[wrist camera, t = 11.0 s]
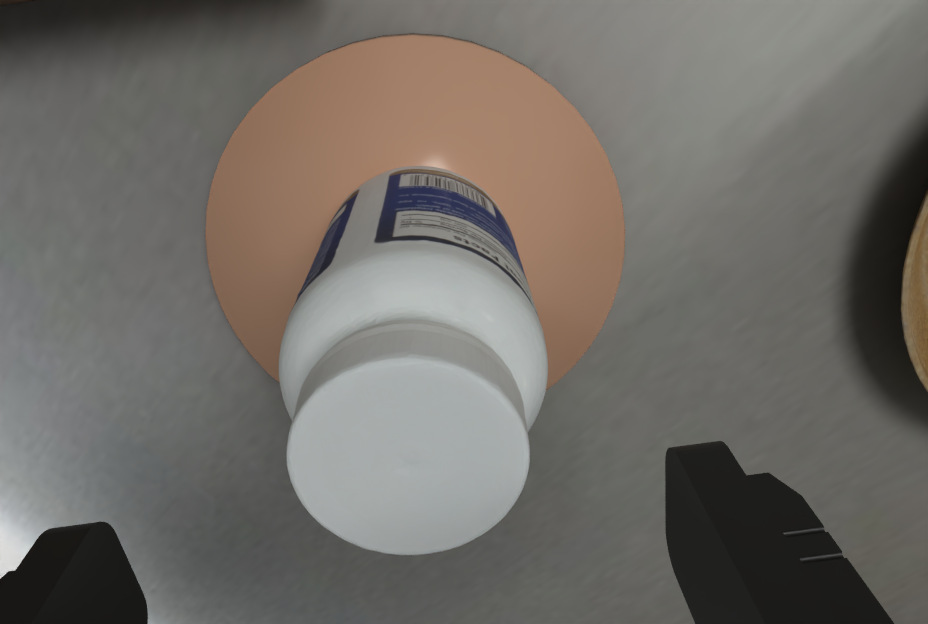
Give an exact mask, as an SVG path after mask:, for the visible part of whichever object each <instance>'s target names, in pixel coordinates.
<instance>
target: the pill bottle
mask: <svg viewBox="0 0 928 624" xmlns="http://www.w3.org/2000/svg"><path fill="white" fill-rule="evenodd" d="M547 377H548V358H547V351H546V344H545V338H544V333H543V329H542V326H541V323H540V320H539V317H538V313H537V310H536V307H535V305H534V301H533V298H532V295H531V291H530V288H529V285H528V282H527V279H526V276H525V273H524V270H523V266H522V263H521V261H520V257H519V254H518V251H517V247H516V244H515V241H514V238H513V235H512V233H511V230H510V227H509V225H508V223H507V221H506V219H505V217H504V215H503V213H502V211H501V209H500V208H499V206H498V205H497V204H496V202H495V201H494V200H493V199H492V198H491V197H490V195H489V194H488V193H487V192H486V191H484V190H483V189H482V188H481V187H480V186H478V185H477V184H476V183H474V182H472V181H471V180H469V179H467V178H466V177H464V176H461V175H459V174H457V173H454V172H452V171H449V170H446V169H441V168H437V167H429V166H405V167H399V168H395V169H392V170H389V171H386V172H384V173H382V174H380V175H377V176H375V177H373V178H372V179H370V180H368V181H366V182H365V183H363V184H362V185H361V186H360V187H358V188H357V189H356V190H355V191H353V192H352V193H351V194H350V195H349V196H348V197H347V198H346V200H345V201H344V202H343V203H342V205H341V206H340V208H339V209H338V211H337V212H336V214H335V215H334V217H333V219H332V220H331V222H330V224H329V226H328V229H327V231H326V233H325V235H324V238H323V241H322V242H321V245H320V248H319V250H318V253H317V255H316V257H315V259H314V261H313V264H312V266H311V268H310V271H309V273H308V275H307V277H306V280H305V282H304V284H303V286H302V289H301V290H300V292H299V294H298V296H297V300H296V302H295V304H294V306H293V308H292V310H291V312H290V314H289V317H288V321H287V324H286V328H285V331H284V335H283V338H282V342H281V347H280V354H279V381H280V388H281V393H282V397H283V400H284V403H285V406H286V409H287V412H288V414H289V416H290V418H291V420H292V424H291V427H290V431H289V435H288V442H287V468H288V473H289V476H290V480H291V483H292V485H293V487H294V490H295V492H296V494H297V496H298V498H299V499H300V501H301V503H302V504H303V505H304V507H305V508H306V509H307V511H308V512H309V513H310V514H311V515H312V516H313V517H314V518H315V519H316V520H317V521H318V522H319V523H320V524H321V525H322V526H323V527H325V528H326V529H328V530H329V531H331V532H332V533H334V534H335V535H337V536H339V537H340V538H342V539H343V540H345V541H348V542H350V543H352V544H355V545H357V546H359V547H362V548H364V549H368V550H372V551H378V552H381V553H388V554H396V555H421V554H429V553H435V552H441V551H445V550H449V549H452V548H455V547H458V546H461V545H463V544H465V543H468V542H470V541H472V540H474V539H476V538H477V537H479V536H481V535H482V534H484V533H486V532H487V531H488V530H489V529H491V528H492V527H493V526H495V525H496V524H497V523H498V522H499V521H500V520H501V519H502V518H503V517H504V516H505V515H506V514H507V513H508V512H509V510H510V509H511V508H512V507H513V505H514V504H515V502H516V501H517V499H518V497H519V495H520V493H521V491H522V489H523V487H524V484H525V481H526V478H527V474H528V470H529V464H530V447H529V438H528V431H529V430H530V428H531V427H532V425H533V423H534V421H535V419H536V417H537V415H538V413H539V411H540V408H541V405H542V402H543V399H544V395H545V391H546V386H547Z"/></svg>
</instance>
